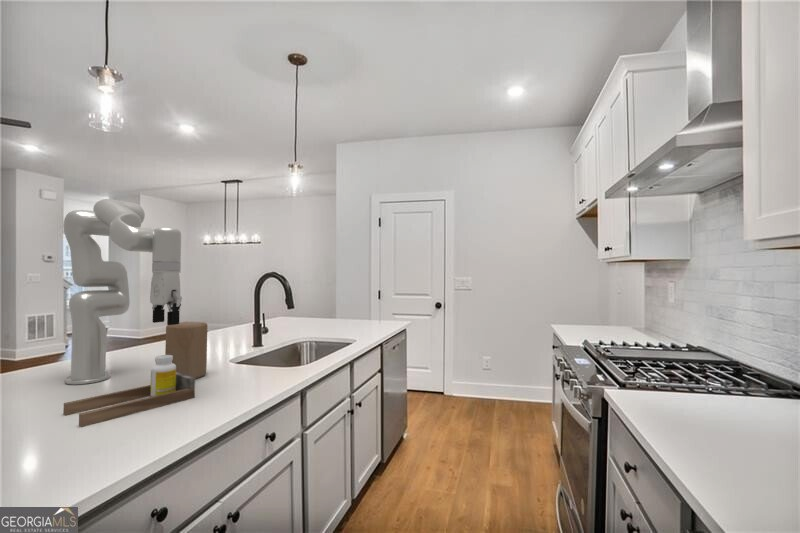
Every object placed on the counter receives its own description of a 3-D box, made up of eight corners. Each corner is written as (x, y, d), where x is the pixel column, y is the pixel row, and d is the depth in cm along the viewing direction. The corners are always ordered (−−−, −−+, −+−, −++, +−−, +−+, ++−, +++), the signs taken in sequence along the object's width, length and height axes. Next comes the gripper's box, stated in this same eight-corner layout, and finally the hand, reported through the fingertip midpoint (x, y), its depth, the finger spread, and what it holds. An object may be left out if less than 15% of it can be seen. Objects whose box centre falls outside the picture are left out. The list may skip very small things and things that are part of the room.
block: (187, 382, 133) (189, 325, 133) (163, 380, 135) (164, 324, 135) (207, 375, 143) (208, 322, 143) (184, 373, 145) (185, 321, 145)
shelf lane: (63, 414, 103) (63, 392, 103) (172, 389, 126) (173, 370, 126) (80, 427, 95) (81, 402, 95) (194, 397, 118) (194, 378, 118)
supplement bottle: (180, 396, 118) (181, 355, 119) (159, 403, 112) (160, 359, 113) (166, 393, 121) (167, 353, 121) (145, 399, 115) (146, 357, 115)
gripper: (140, 268, 119) (139, 322, 119) (166, 267, 109) (165, 327, 109) (166, 268, 125) (165, 320, 125) (193, 268, 116) (192, 324, 115)
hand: (165, 323), depth 117 cm, fingers open, 9 cm apart
